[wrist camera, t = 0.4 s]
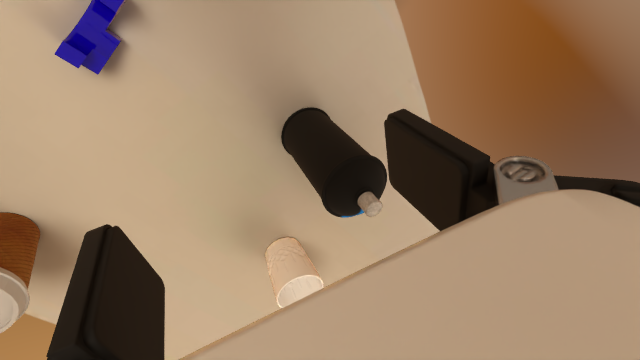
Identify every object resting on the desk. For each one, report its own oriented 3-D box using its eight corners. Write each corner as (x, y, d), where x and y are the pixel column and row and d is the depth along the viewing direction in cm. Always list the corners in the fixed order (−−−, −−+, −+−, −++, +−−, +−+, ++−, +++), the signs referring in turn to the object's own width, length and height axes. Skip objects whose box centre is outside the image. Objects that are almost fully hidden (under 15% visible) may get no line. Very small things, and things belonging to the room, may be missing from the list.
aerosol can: (271, 124, 46) (326, 203, 30) (321, 96, 46) (401, 159, 31) (294, 166, 51) (351, 253, 35) (338, 141, 51) (414, 214, 36)
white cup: (252, 254, 57) (266, 299, 49) (287, 226, 57) (307, 267, 49) (278, 273, 62) (294, 316, 54) (310, 248, 62) (331, 288, 54)
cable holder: (101, 68, 35) (95, 78, 32) (64, 46, 33) (54, 54, 30) (143, 7, 34) (141, 11, 30) (107, -20, 31) (101, -19, 28)
